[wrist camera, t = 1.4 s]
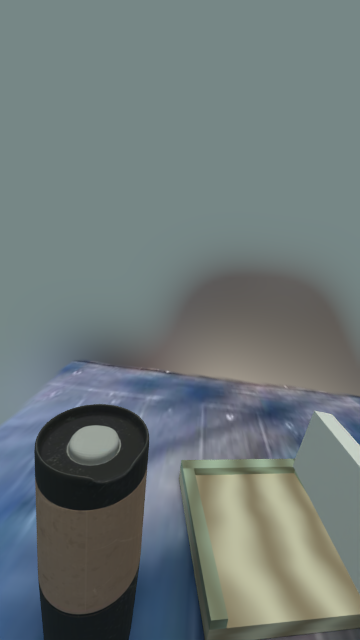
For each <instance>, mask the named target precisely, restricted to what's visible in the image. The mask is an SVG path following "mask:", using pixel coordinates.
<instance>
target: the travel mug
mask: <svg viewBox="0 0 360 640" xmlns="http://www.w3.org/2000/svg"><path fill="white" fill-rule="evenodd" d="M148 450H149V433H148V429H147V426H146V424H145V423H144V421H143V420H142V419H141V418H140V417H139V416H138V415H137V414H135V413H133V412H132V411H130V410H128V409H125V408H122V407H118V406H114V405H106V404H94V405H85V406H80V407H76V408H73V409H70V410H67V411H65V412H63V413H61V414H59V415H57V416H55V417H54V418H52V419H51V420H50V421H49V422H47V423H46V424H45V425H44V426H43V428H42V429H41V431H40V432H39V434H38V436H37V439H36V442H35V484H36V519H37V554H38V579H39V590H40V601H41V611H42V622H43V633H44V640H128V638H129V634H130V629H131V622H132V615H133V607H134V600H135V592H136V585H137V577H138V570H139V562H140V553H141V540H142V527H143V514H144V501H145V488H146V476H147V463H148Z"/></svg>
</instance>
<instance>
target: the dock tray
mask: <svg viewBox="0 0 360 640" xmlns="http://www.w3.org/2000/svg"><path fill="white" fill-rule="evenodd" d="M294 461H295V459H239V460H181V467H180V475H179V482H180V488H181V494H182V500H183V506H184V512H185V518H186V525H187V531H188V537H189V543H190V549H191V555H192V562H193V568H194V574H195V580H196V586H197V592H198V598H199V605H200V611H201V617H202V623H203V629H204V635H205V640H257V639H266V638H275V637H283V636H292V635H301V634H310V633H319V632H328V631H337V630H345V629H354V628H360V594H359V593H358V591H357V589H356V587H355V585H354V583H353V581H352V579H351V577H350V575H349V573H348V571H347V569H346V567H345V566H344V564H343V562H342V560H341V558H340V556H339V554H338V552H337V550H336V548H335V546H334V544H333V542H332V541H331V539H330V537H329V535H328V533H327V531H326V529H325V527H324V525H323V523H322V521H321V519H320V517H319V515H318V514H317V512H316V510H315V508H314V506H313V504H312V502H311V500H310V498H309V496H308V494H307V492H306V490H305V489H304V487H303V485H302V483H301V481H300V479H299V477H298V475H297V473H296V471H295V469H294V467H293V464H294Z"/></svg>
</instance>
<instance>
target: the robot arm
mask: <svg viewBox="0 0 360 640" xmlns="http://www.w3.org/2000/svg"><path fill="white" fill-rule="evenodd" d="M293 467H294V469H295V471H296V473H297V475H298V477H299V479H300V481H301V483H302V485H303V487H304V489H305V490H306V492H307V494H308V496H309V498H310V500H311V502H312V504H313V506H314V508H315V510H316V512H317V514H318V515H319V517H320V519H321V521H322V523H323V525H324V527H325V529H326V531H327V533H328V535H329V537H330V539H331V541H332V542H333V544H334V546H335V548H336V550H337V552H338V554H339V556H340V558H341V560H342V562H343V564H344V566H345V567H346V569H347V571H348V573H349V575H350V577H351V579H352V581H353V583H354V585H355V587H356V589H357V591H358V593H359V594H360V445H359V444H358V443H357V442H356V441H355V440H354V439H353V437H352V436H351V435H350V434H349V433H348V432H347V431H346V430H345V429H344V427H343V426H342V425H341V424H340V423H339V422H338V421H337V420H336V418H335V417H334V416H333V415H332V414H328V413H323V412H318V411H314V413H313V416H312V418H311V421H310V423H309V426H308V428H307V431H306V433H305V436H304V438H303V441H302V443H301V446H300V448H299V451H298V453H297V456H296V458H295V461H294V464H293Z"/></svg>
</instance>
